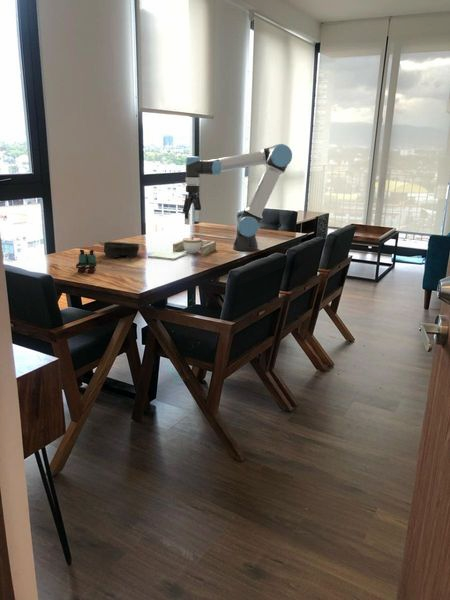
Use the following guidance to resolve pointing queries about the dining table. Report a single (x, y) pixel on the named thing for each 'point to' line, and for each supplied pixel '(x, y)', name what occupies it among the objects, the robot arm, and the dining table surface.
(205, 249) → the cubby
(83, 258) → the binoculars
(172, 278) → the dining table surface
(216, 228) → the dining table surface
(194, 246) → the lidded jar
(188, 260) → the dining table surface
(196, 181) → the robot arm
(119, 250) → the stone bowl
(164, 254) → the pad
